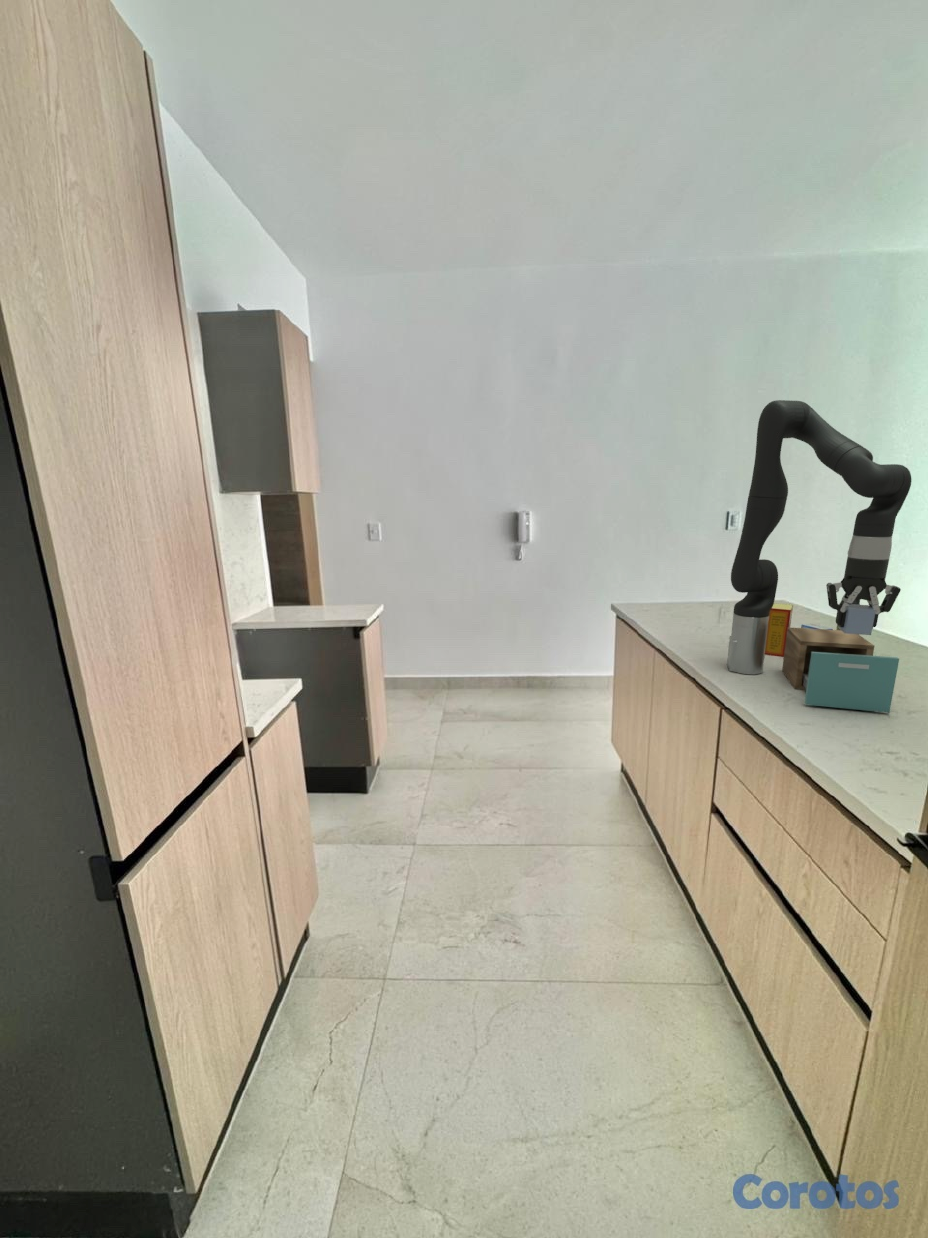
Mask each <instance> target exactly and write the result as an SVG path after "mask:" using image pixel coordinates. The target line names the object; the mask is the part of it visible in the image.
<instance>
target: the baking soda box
mask: <svg viewBox="0 0 928 1238" xmlns="http://www.w3.org/2000/svg"><path fill="white" fill-rule="evenodd" d="M793 608H794V604H790V603H789V604H787V603H777V602H774V604H773V607H772V608H771V610H770V613H769V621H768V630H767V639H766V647H765V656H771V657H772V656H773V657H780V658H784V651H785V643H786V636H787V628H788V627H789V628H791V626H792V625H791V624H792V617H793Z"/></svg>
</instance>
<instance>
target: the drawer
mask: <svg viewBox="0 0 928 1238" xmlns="http://www.w3.org/2000/svg"><path fill="white" fill-rule="evenodd" d="M899 663H900V657H896V656H886V655H885V656H883V655H882V656H881V655H873V656H870V655H855V654H840V653H824V652H811V659H810V666H809V674H803V677H802V684H803V686H804V687H805V688H806V690H805V696H804V697H805V698H804V704H805V705H808V706H816V707H817V706H818V707H828V708H836V709H837V708H839V709H847V710H848V709H849V710H857V711H859V710H860V711H871V712H877V713H878V712H879V713H890V712H891V706H892V701H893V695H894V690H895V684H896V681H897V680H896V678H897V674H898V668H899Z"/></svg>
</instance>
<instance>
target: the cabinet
mask: <svg viewBox="0 0 928 1238" xmlns="http://www.w3.org/2000/svg"><path fill="white" fill-rule="evenodd" d="M874 650H875V645H874V644H873V643H871V642H870V641H869V640H867V639H866V638H864V637H863V636H862V635H861V634H859V635H858V634H846V633H844V632H843V631H842V630H836V629H833V630H827V629H808V628H801V627H790V628H789V627H788V628H787V636H786V643H785V651H784V657H783V660H782V668H781V672H782V674H783V675H784V676H785V677H786V679H787V680H788V682H789V683H790V684H791V687H793V689H794V690H801V691H806V688H805V687H804V686H803V684H802V677H803V674H809V666H810V659H811V652H824V653H840V654H855V655H870V656H874Z"/></svg>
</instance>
